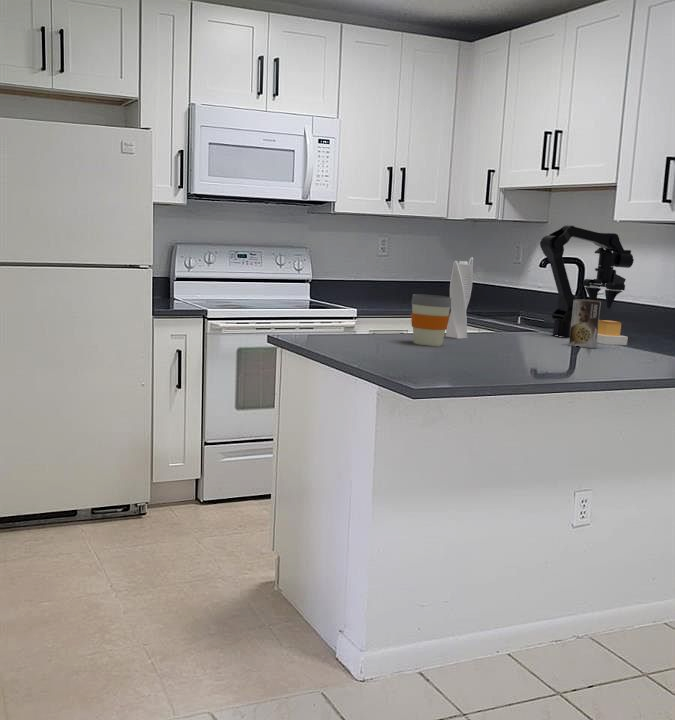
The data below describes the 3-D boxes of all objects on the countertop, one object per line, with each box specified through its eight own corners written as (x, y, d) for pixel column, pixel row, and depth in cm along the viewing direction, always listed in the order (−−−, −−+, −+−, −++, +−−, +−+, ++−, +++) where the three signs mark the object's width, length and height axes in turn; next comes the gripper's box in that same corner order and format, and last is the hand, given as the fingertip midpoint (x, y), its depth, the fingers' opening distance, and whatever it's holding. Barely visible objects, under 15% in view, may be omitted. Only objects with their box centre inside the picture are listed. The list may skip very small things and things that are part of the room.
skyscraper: (473, 339, 294) (481, 257, 290) (459, 340, 288) (467, 257, 284) (453, 336, 299) (460, 256, 295) (439, 337, 294) (447, 255, 290)
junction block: (604, 344, 308) (606, 325, 307) (587, 340, 318) (589, 322, 317) (626, 345, 312) (629, 326, 311) (609, 341, 321) (611, 323, 320)
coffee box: (596, 347, 297) (601, 300, 295) (595, 348, 291) (601, 301, 289) (569, 344, 300) (574, 298, 298) (568, 345, 294) (573, 299, 292)
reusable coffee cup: (421, 346, 261) (426, 297, 259) (400, 340, 272) (404, 293, 270) (455, 346, 267) (460, 298, 265) (433, 341, 278) (437, 294, 275)
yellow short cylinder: (606, 335, 310) (607, 321, 310) (596, 333, 316) (597, 319, 315) (619, 336, 312) (621, 322, 312) (609, 333, 318) (611, 320, 317)
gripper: (639, 269, 320) (634, 310, 322) (608, 266, 337) (603, 305, 339) (614, 267, 316) (609, 309, 318) (584, 264, 333) (579, 304, 336)
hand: (600, 307), depth 328 cm, fingers open, 9 cm apart
